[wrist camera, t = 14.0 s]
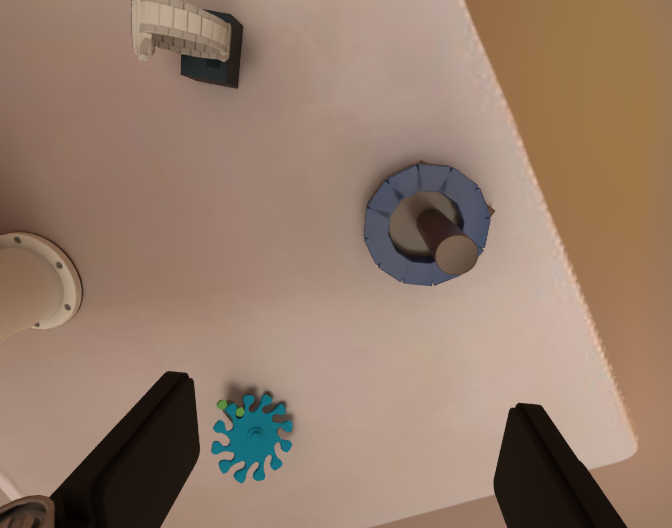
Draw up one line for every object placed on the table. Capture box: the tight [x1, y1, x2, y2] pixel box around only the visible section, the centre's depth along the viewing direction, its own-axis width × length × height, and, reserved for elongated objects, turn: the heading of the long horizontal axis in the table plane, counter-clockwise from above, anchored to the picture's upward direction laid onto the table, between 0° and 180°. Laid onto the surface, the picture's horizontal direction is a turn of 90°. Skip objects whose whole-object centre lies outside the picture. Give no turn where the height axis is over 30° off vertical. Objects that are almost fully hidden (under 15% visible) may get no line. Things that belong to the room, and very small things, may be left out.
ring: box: [364, 164, 491, 286], centre depth 36 cm, size 12×12×2 cm
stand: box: [389, 161, 495, 275], centre depth 32 cm, size 9×9×13 cm
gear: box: [211, 394, 292, 483], centre depth 46 cm, size 11×6×10 cm
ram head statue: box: [131, 0, 243, 88], centre depth 30 cm, size 6×8×11 cm
